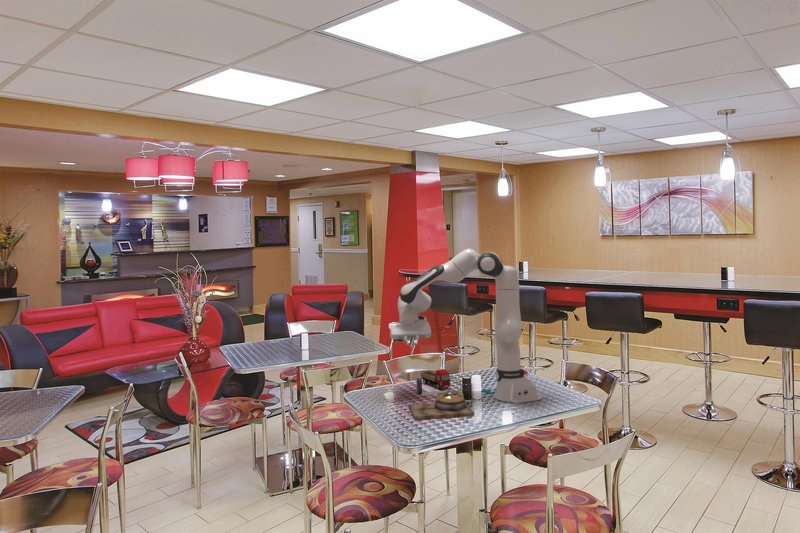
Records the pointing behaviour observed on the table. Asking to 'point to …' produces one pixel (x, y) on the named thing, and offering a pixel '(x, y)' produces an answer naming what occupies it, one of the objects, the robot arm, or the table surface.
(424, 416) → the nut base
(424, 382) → the toy truck
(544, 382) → the table surface
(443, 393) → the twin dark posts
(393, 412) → the table surface
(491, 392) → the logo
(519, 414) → the table surface
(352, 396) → the table surface
